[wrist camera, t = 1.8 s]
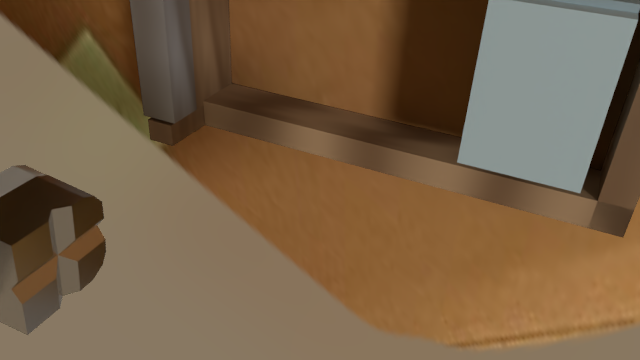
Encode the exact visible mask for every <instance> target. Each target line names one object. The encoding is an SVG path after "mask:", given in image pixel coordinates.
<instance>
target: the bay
mask: <svg viewBox="0 0 640 360" xmlns="http://www.w3.org/2000/svg"><path fill="white" fill-rule="evenodd" d="M130 7H131V15H132V23H133V31H134V39H135V47H136V55H137V63H138V71H139V79H140V87H141V96H142V104H143V112H144V115H145V116H149V117H152V118H150V119H148V123H149V131H150V139H151V140H154V141H158V142H161V143H165V144H168V145H172V146H174V145H175V144H176V143H178V142H179V141H181V140H182V139H184V138H185V137H187V136H188V135H190V134H191V133H193V132H195V131H197V130H198V129H200V128H201V127H202V126H204V125H207V126H211V127H215V128H218V129H222V130H226V131H229V132H233V133H237V134H241V135H244V136H248V137H252V138H255V139H259V140H263V141H267V142H270V143H274V144H278V145H281V146H285V147H289V148H293V149H296V150H300V151H304V152H307V153H311V154H315V155H319V156H322V157H326V158H330V159H333V160H337V161H341V162H345V163H348V164H352V165H356V166H359V167H363V168H367V169H371V170H374V171H378V172H382V173H385V174H389V175H393V176H397V177H400V178H404V179H408V180H411V181H415V182H419V183H423V184H426V185H430V186H434V187H438V188H441V189H445V190H449V191H452V192H456V193H460V194H464V195H467V196H471V197H475V198H478V199H482V200H486V201H490V202H493V203H497V204H501V205H504V206H508V207H512V208H516V209H519V210H523V211H527V212H530V213H534V214H538V215H542V216H545V217H549V218H553V219H556V220H560V221H564V222H568V223H571V224H575V225H579V226H582V227H586V228H590V229H594V230H597V231H601V232H605V233H608V234H612V235H616V236H620V237H623V236H624V234H625V231H626V229H627V226H628V224H629V221H630V219H631V217H632V214H633V212H634V209H635V207H636V204H637V202H638V199H639V197H640V60H639V63H638V66H637V69H636V71H635V74H634V77H633V80H632V83H631V86H630V89H629V91H628V94H627V97H626V100H625V103H624V106H623V109H622V111H621V114H620V117H619V120H618V123H617V126H616V129H615V131H614V134H613V137H612V140H611V143H610V146H609V149H608V152H607V154H606V157H605V160H604V163H603V166H602V169H601V171H600V170H596V169H591V168H589V169H588V172H587V175H586V178H585V181H584V184H583V187H582V190H581V193H577V192H573V191H569V190H565V189H561V188H557V187H553V186H549V185H545V184H541V183H537V182H533V181H529V180H525V179H521V178H517V177H513V176H509V175H505V174H501V173H497V172H493V171H489V170H485V169H481V168H477V167H473V166H469V165H465V164H461V163H457V160H458V155H459V150H460V145H461V140H462V138H460V137H456V136H452V135H448V134H444V133H439V132H435V131H431V130H427V129H422V128H418V127H414V126H410V125H406V124H401V123H397V122H393V121H389V120H384V119H380V118H376V117H372V116H368V115H363V114H359V113H355V112H351V111H346V110H342V109H338V108H334V107H330V106H325V105H321V104H317V103H313V102H308V101H304V100H300V99H296V98H292V97H287V96H283V95H279V94H275V93H271V92H266V91H262V90H258V89H254V88H249V87H245V86H241V85H237V84H233V83H232V79H231V51H230V23H229V0H130Z"/></svg>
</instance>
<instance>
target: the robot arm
mask: <svg viewBox="0 0 640 360" xmlns="http://www.w3.org/2000/svg"><path fill="white" fill-rule="evenodd" d="M103 219H104V215H103V206H102V201H100V200H99V199H97V198H96V197H95V196H92V195H90V194H88V193H86V192H84V191H82V190H79V189H77V188H75V187H73V186H71V185H68V184H66V183H64V182H62V181H60V180H58V179H55V178H53V177H51V176H49V175H45V174H43V173H41V172H38V171H36V170H34V169H32V168H29V167H28V166H26V165H21V166H12V167H10V168H8V169H6V170H4V171H3V172H1V173H0V322H1V323H3V324H6V325H8V326H10V327H12V328H14V329H16V330H18V331H20V332H22V333H24V334H26V335H28V334H29V333H31V332H32V331H33V330H34V329H35V328H37V327H38V326H39V325H40V324H41V323H43V322H44V321H45V320H46V319H47V318H49V317H50V316H51V315H52V314H53V313H54V312H56V311H57V310H58V309H59V308H60V305H61V301H62V296H63V295H67V294H71V293H74V292H78V291H81V290H82V289H83V288H84V287H85V286H86V285H88V284H89V283H90V282H91V281H92V280H93V279H94V277H95V276H96V274H97V273H98V271H99V269H100V268H101V266H102V265H103V261H104V257H105V253H106V244H105V243H106V242H105V238H104V236H103V235H102V233H101V231H100V229H99V228H98V226H97V225H98V224H99V223H100V222H101V221H102V220H103Z"/></svg>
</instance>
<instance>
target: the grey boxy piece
mask: <svg viewBox="0 0 640 360" xmlns="http://www.w3.org/2000/svg"><path fill="white" fill-rule="evenodd" d="M639 10H640V0H489V2H488V7H487V12H486V17H485V22H484V27H483V32H482V38H481V43H480V48H479V53H478V58H477V63H476V68H475V73H474V78H473V84H472V89H471V94H470V99H469V104H468V109H467V114H466V119H465V124H464V129H463V135H462V140H461V145H460V150H459V155H458V160H457V163H461V164H465V165H469V166H473V167H477V168H481V169H485V170H489V171H493V172H497V173H501V174H505V175H509V176H513V177H517V178H521V179H525V180H529V181H533V182H537V183H541V184H545V185H549V186H553V187H557V188H561V189H565V190H569V191H573V192H577V193H581V190H582V187H583V184H584V181H585V178H586V175H587V172H588V169H589V166H590V163H591V160H592V157H593V154H594V151H595V148H596V145H597V142H598V139H599V136H600V133H601V130H602V127H603V124H604V121H605V118H606V115H607V112H608V109H609V106H610V103H611V100H612V97H613V94H614V91H615V88H616V85H617V82H618V79H619V76H620V73H621V70H622V67H623V64H624V61H625V58H626V55H627V52H628V49H629V46H630V43H631V40H632V37H633V34H634V31H635V28H636V25H637V22H638V13H639Z"/></svg>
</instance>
